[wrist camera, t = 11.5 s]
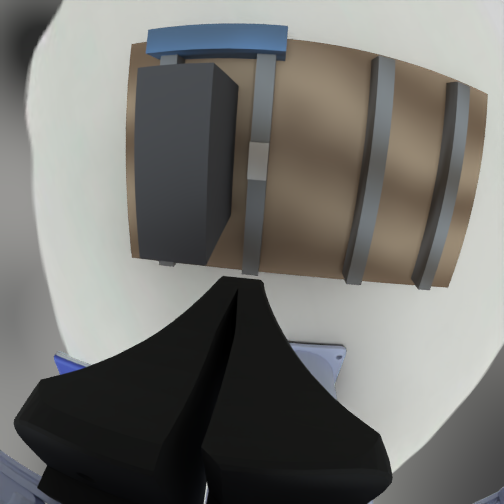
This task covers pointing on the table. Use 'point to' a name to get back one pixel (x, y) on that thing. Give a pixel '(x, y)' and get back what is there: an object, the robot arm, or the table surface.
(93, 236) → the table surface
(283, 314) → the table surface
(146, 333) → the table surface
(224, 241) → the board
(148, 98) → the dark grey tall block
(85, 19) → the table surface
